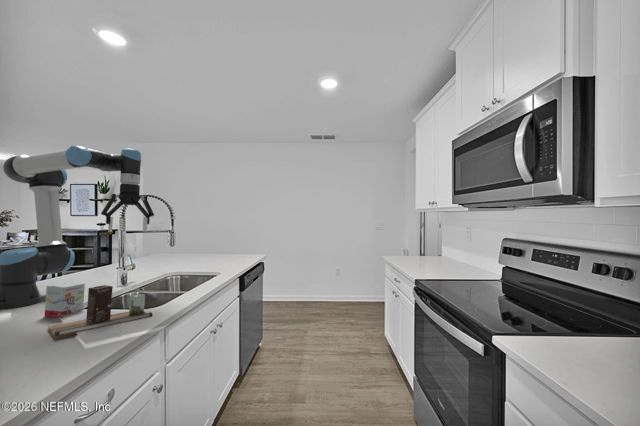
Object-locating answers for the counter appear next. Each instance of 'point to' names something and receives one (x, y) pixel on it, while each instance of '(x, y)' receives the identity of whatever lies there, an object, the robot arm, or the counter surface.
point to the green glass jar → (136, 304)
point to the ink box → (64, 299)
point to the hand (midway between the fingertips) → (128, 231)
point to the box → (99, 304)
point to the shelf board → (73, 327)
